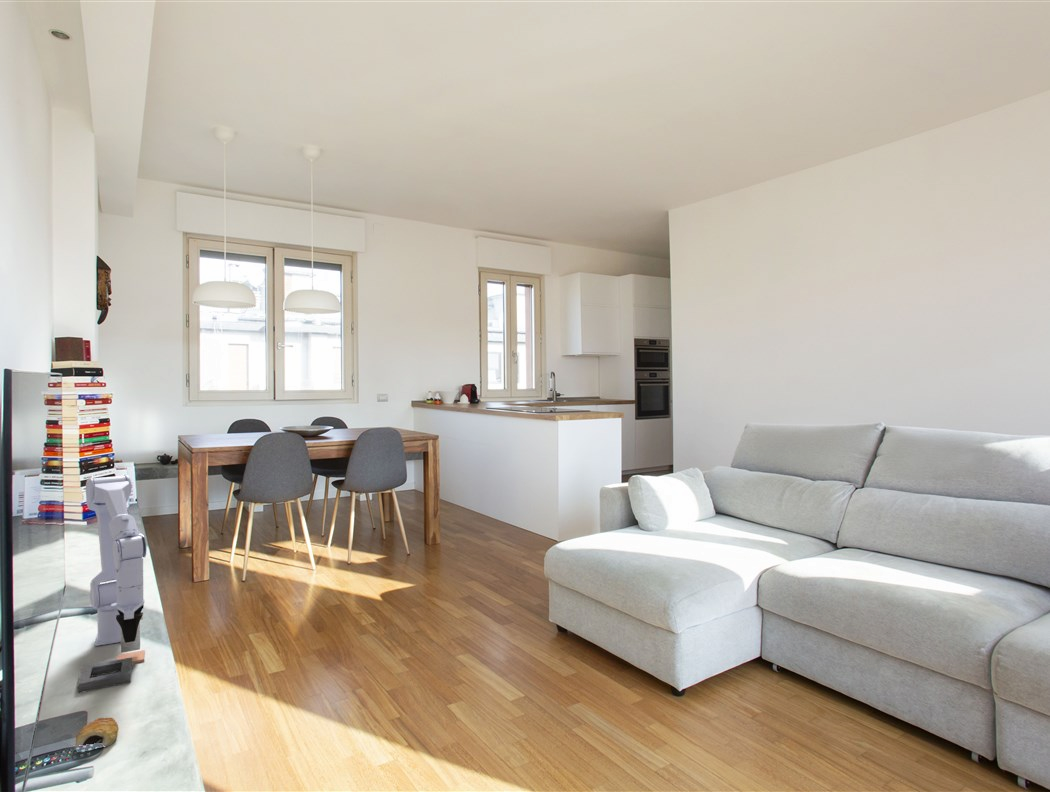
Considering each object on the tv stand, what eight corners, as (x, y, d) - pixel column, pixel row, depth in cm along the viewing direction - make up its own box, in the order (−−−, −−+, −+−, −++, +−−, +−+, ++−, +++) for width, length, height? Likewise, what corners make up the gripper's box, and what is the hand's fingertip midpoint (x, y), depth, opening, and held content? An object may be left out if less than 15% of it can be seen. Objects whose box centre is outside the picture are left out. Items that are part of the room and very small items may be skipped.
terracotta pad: (117, 657, 158) (117, 655, 158) (144, 652, 161) (144, 650, 161) (115, 666, 153) (115, 664, 153) (144, 661, 156) (144, 659, 156)
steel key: (143, 643, 160) (142, 613, 160) (142, 648, 157) (142, 618, 156) (118, 647, 157) (118, 617, 157) (118, 653, 154) (117, 622, 154)
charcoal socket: (82, 674, 149) (82, 666, 149) (132, 665, 154) (132, 657, 154) (78, 692, 140) (77, 684, 140) (130, 682, 145) (130, 673, 145)
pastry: (84, 730, 126) (84, 712, 126) (123, 723, 128) (123, 705, 128) (72, 756, 117) (72, 736, 117) (114, 748, 120) (114, 728, 120)
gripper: (112, 579, 161) (113, 631, 161) (108, 596, 148) (109, 652, 149) (144, 575, 164) (145, 625, 165) (143, 591, 152) (143, 646, 152)
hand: (130, 638), depth 157 cm, fingers closed on steel key, 4 cm apart
